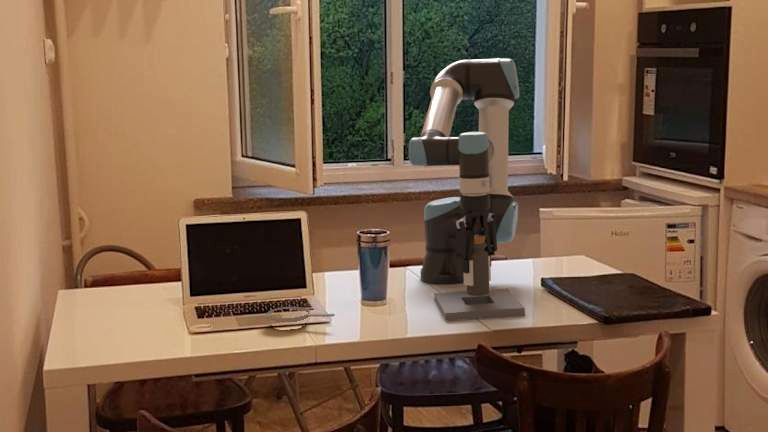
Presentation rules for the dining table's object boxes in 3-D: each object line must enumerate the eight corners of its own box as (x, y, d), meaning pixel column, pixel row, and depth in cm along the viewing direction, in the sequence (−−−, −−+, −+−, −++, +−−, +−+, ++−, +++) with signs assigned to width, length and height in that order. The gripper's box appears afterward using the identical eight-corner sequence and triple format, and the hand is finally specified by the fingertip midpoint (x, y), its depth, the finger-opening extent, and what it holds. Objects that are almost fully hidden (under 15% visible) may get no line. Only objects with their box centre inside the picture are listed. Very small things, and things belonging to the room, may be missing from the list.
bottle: (488, 296, 253) (486, 238, 250) (465, 296, 254) (463, 238, 251) (490, 290, 258) (488, 233, 256) (467, 290, 260) (466, 233, 257)
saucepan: (279, 318, 256) (278, 304, 255) (343, 323, 249) (343, 308, 248) (259, 330, 246) (258, 315, 245) (325, 335, 239) (325, 320, 238)
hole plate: (445, 321, 246) (445, 313, 246) (434, 300, 266) (434, 293, 266) (524, 315, 248) (524, 307, 248) (508, 295, 268) (507, 288, 267)
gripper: (459, 200, 243) (462, 292, 247) (510, 189, 255) (512, 277, 259) (438, 197, 248) (441, 287, 252) (488, 187, 261) (491, 273, 265)
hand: (477, 282), depth 256 cm, fingers closed on bottle, 6 cm apart
